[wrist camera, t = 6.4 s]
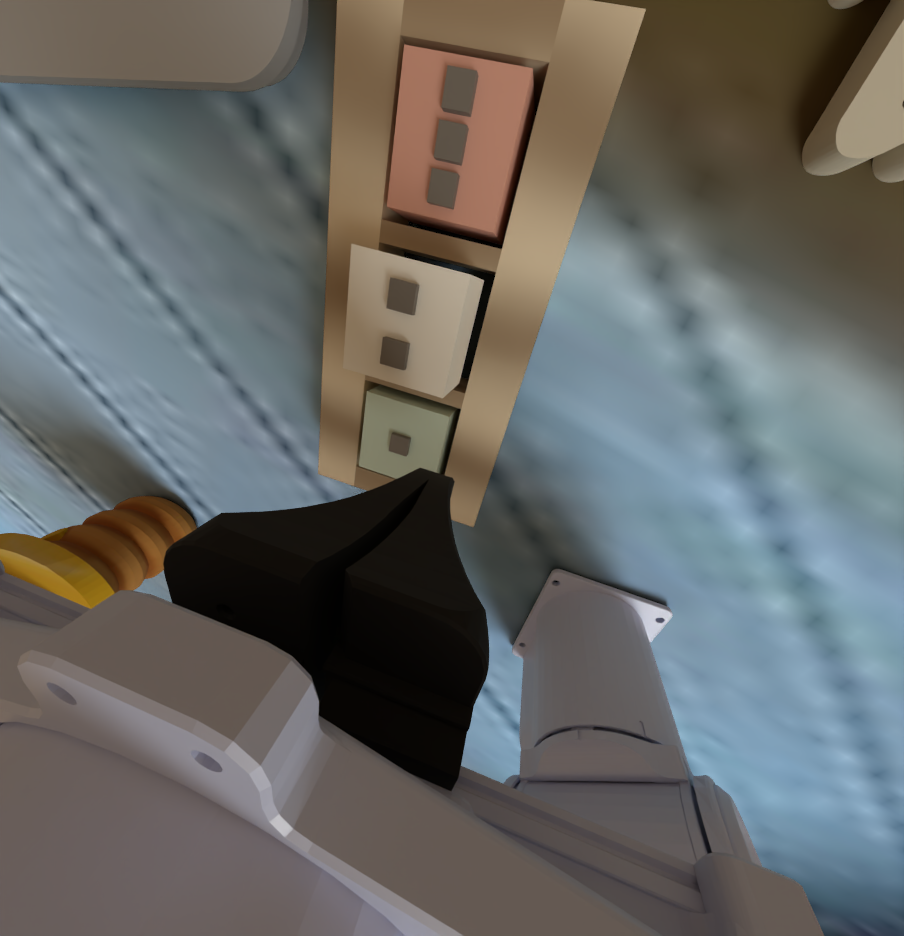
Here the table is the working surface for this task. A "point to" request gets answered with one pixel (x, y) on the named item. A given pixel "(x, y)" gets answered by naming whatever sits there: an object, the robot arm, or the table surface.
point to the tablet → (152, 42)
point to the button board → (515, 265)
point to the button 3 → (459, 141)
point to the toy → (99, 550)
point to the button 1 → (405, 432)
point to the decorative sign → (865, 106)
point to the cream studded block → (408, 320)
